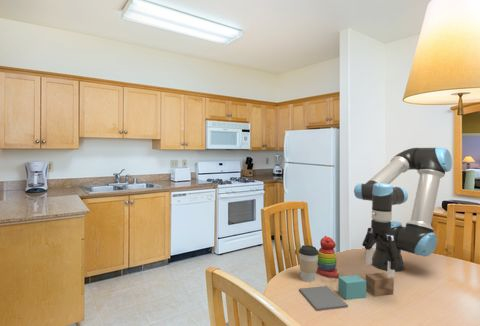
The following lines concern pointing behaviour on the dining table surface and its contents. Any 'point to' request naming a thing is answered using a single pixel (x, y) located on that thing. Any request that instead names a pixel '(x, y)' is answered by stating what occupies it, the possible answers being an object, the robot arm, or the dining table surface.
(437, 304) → the dining table surface
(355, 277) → the teal brick
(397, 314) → the dining table surface
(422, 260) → the dining table surface
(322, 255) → the stacking bear
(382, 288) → the walnut brick
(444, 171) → the robot arm
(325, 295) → the mat
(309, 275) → the coffee cup
